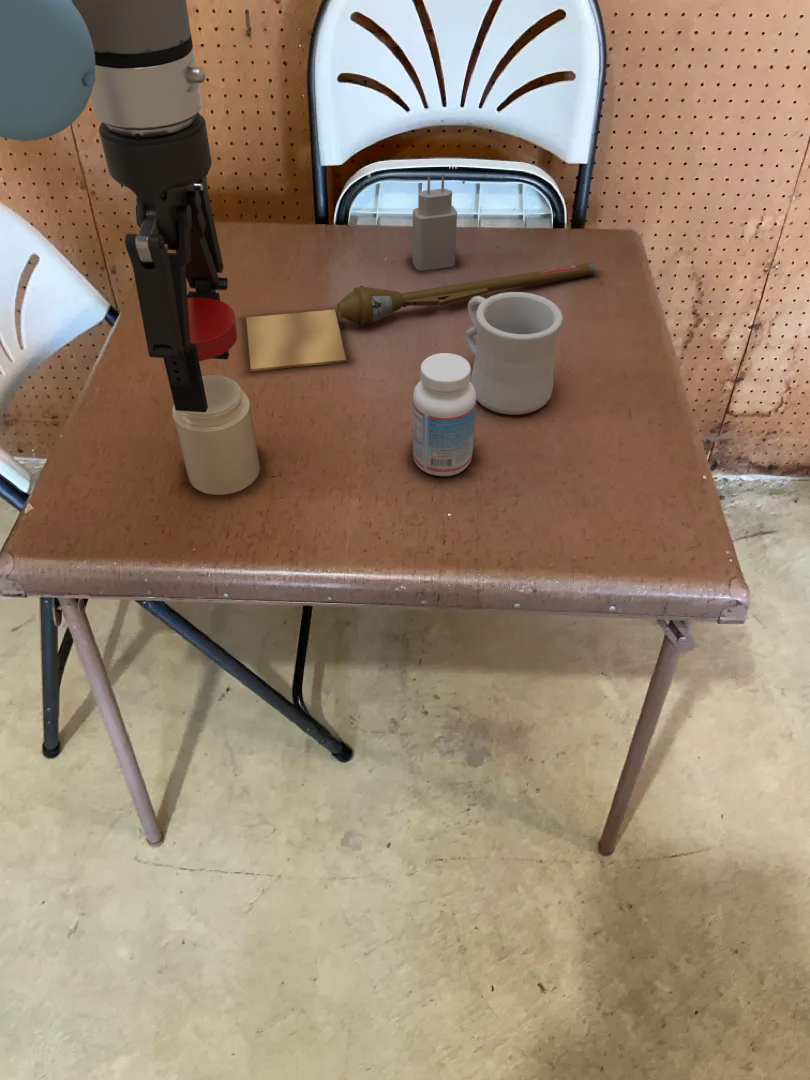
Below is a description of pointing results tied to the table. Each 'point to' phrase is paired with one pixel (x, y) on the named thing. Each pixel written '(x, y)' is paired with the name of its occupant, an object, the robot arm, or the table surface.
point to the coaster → (294, 340)
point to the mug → (513, 350)
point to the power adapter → (434, 229)
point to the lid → (211, 326)
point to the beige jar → (219, 439)
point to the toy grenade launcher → (442, 293)
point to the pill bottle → (444, 415)
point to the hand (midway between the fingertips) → (203, 381)
